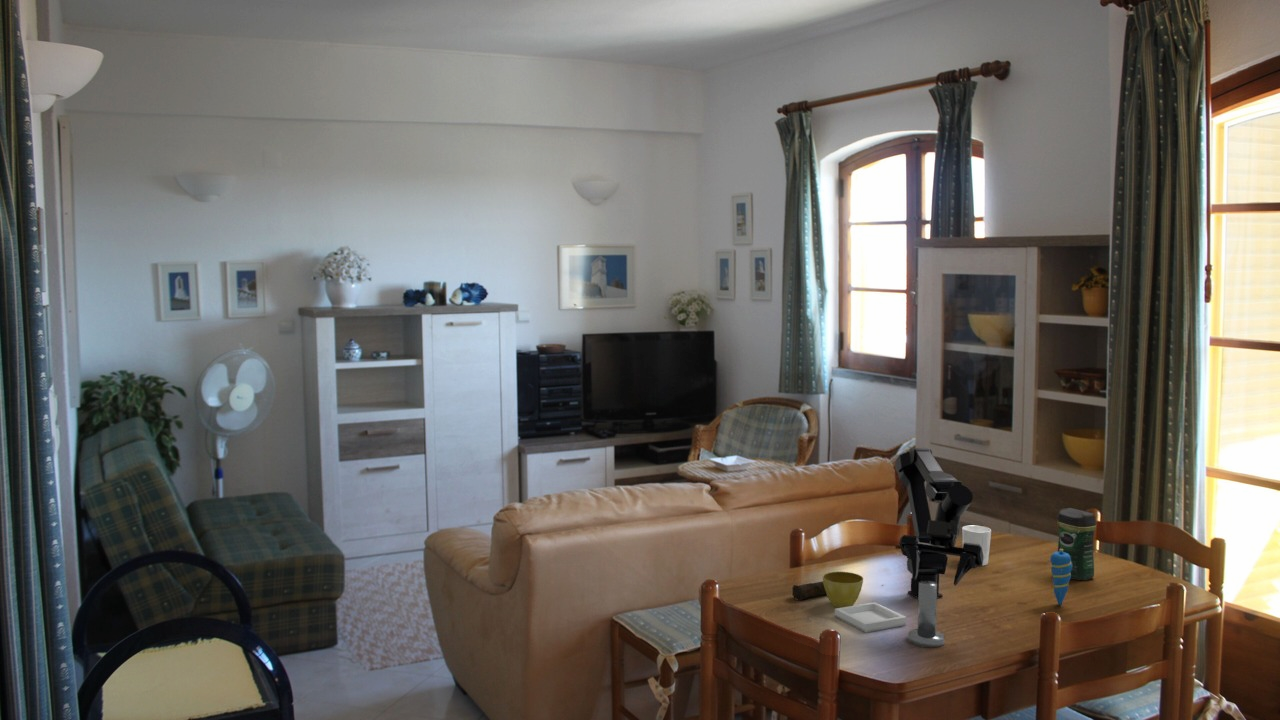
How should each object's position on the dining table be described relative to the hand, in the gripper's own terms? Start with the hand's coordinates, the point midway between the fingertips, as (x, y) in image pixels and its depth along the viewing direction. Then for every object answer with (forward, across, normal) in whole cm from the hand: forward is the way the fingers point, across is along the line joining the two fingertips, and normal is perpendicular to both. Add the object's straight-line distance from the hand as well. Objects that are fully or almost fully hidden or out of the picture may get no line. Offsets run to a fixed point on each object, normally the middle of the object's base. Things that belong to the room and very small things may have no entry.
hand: (934, 581), depth 240 cm
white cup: (-36, -2, +53) cm, 64 cm away
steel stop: (+13, 0, +4) cm, 14 cm away
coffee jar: (-36, +24, +54) cm, 69 cm away
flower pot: (+3, -25, +15) cm, 29 cm away
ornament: (-16, +24, +34) cm, 44 cm away
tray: (+8, -15, +9) cm, 19 cm away
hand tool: (-2, -32, +20) cm, 37 cm away
